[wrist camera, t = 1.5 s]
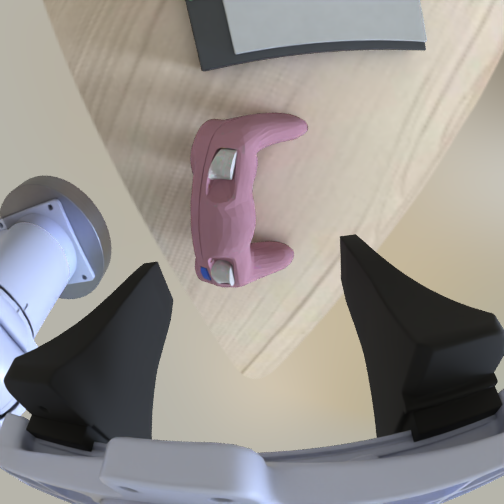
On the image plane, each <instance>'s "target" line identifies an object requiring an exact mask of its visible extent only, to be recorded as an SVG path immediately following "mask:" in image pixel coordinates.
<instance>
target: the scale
mask: <svg viewBox="0 0 504 504" xmlns="http://www.w3.org/2000/svg"><path fill="white" fill-rule="evenodd" d="M185 1H186V5H187V10H188V14H189V18H190V22H191V27H192V31H193V35H194V40H195V44H196V48H197V52H198V57H199V61H200V65H201V70H202V71H209V70H214V69H218V68H223V67H227V66H232V65H237V64H242V63H248V62H253V61H259V60H265V59H271V58H278V57H285V56H293V55H302V54H311V53H322V52H335V51H353V50H426V48H425V42H426V41H427V38H426V32H425V26H424V20H423V14H422V9H421V4H420V0H185Z"/></svg>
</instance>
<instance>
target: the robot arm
mask: <svg viewBox="0 0 504 504" xmlns="http://www.w3.org/2000/svg"><path fill="white" fill-rule="evenodd" d="M50 205H52V207H53V208H51V206H50ZM340 249H341V281H342V285H343V290H344V294H345V299H346V302H347V305H348V308H349V311H350V314H351V317H352V319H353V322H354V325H355V328H356V331H357V334H358V337H359V340H360V343H361V346H362V349H363V353H364V357H365V362H366V367H367V372H368V377H369V383H370V389H371V395H372V402H373V409H374V416H375V424H376V434H377V438H374V439H369V440H364V441H358V442H353V443H347V444H341V445H334V446H327V447H320V448H311V449H302V450H293V451H279V452H264V453H256V452H254V451H253V450H252V449H250V448H246V447H242V446H238V445H234V444H225V443H213V442H182V441H164V440H152V436H151V434H152V433H151V432H152V408H153V398H154V388H155V380H156V374H157V369H158V364H159V361H160V357H161V353H162V350H163V346H164V342H165V339H166V335H167V332H168V328H169V324H170V320H171V314H172V305H173V298H172V296H171V293H170V291H169V289H168V286H167V284H166V281H165V279H164V277H163V274H162V272H161V269H160V267H159V264H158V262H151V263H144V264H143V265H142V266H140V267H139V268H138V269H137V270H136V271H135V272H134V273H133V274H132V275H130V276H129V277H128V278H127V279H126V280H125V281H124V282H123V283H122V284H121V285H120V286H119V287H118V288H117V289H116V290H115V291H114V292H113V293H112V294H111V295H110V296H108V297H107V298H106V299H105V300H104V301H103V302H102V303H101V304H100V305H99V306H98V307H96V308H95V309H94V310H93V311H92V312H91V313H89V314H88V315H87V316H86V317H84V318H83V319H82V320H81V321H79V322H78V323H77V324H75V325H74V326H72V327H71V328H69V329H68V330H66V331H65V332H63V333H62V334H60V335H59V336H57V337H56V338H54V339H52V340H51V341H49V342H47V343H45V344H43V345H42V346H40V347H38V346H37V345H36V343H35V341H34V338H35V336H36V334H37V333H38V331H39V329H40V327H41V326H42V324H43V322H44V320H45V319H46V317H47V315H48V314H49V312H50V310H51V309H52V307H53V306H54V304H55V302H56V301H57V299H58V297H59V296H60V294H61V293H62V291H63V290H64V288H65V286H66V285H67V284H73V283H80V282H87V281H92V280H93V279H94V277H95V274H94V272H93V270H92V268H91V266H90V264H89V262H88V260H87V258H86V256H85V254H84V252H83V250H82V248H81V246H80V244H79V242H78V240H77V238H76V236H75V233H74V231H73V229H72V227H71V225H70V222H69V220H68V218H67V216H66V213H65V211H64V209H63V206H62V204H61V202H60V201H59V200H58V199H52V200H49V201H46V202H44V203H41V204H38V205H35V206H33V207H30V208H27V209H25V210H22V211H19V212H17V213H14V214H12V215H9V216H7V217H4V218H2V219H0V468H1V469H3V470H4V471H6V472H7V473H9V474H10V475H12V476H13V477H15V478H17V479H18V480H20V481H22V482H23V483H25V484H27V485H29V486H31V487H33V488H35V489H37V490H40V491H42V492H45V493H47V494H50V495H52V496H54V497H57V498H59V499H62V500H64V501H67V502H70V503H72V504H441V503H444V502H446V501H449V500H451V499H454V498H456V497H458V496H461V495H463V494H466V493H468V492H470V491H472V490H475V489H477V488H479V487H481V486H483V485H485V484H487V483H490V482H492V481H494V480H496V479H498V478H500V477H502V476H504V389H503V390H501V391H500V392H499V393H497V390H496V388H495V385H496V384H497V378H496V376H495V374H494V371H495V370H496V368H497V366H498V364H499V363H500V361H501V359H502V357H503V356H504V329H503V327H502V326H501V324H500V323H499V321H498V320H497V318H496V316H495V315H494V314H492V313H489V312H485V311H482V310H479V309H475V308H472V307H469V306H466V305H464V304H461V303H458V302H455V301H453V300H451V299H448V298H446V297H444V296H442V295H440V294H438V293H436V292H434V291H432V290H430V289H428V288H426V287H424V286H423V285H421V284H419V283H418V282H416V281H414V280H413V279H411V278H410V277H408V276H406V275H405V274H404V273H402V272H401V271H399V270H398V269H397V268H395V267H394V266H393V265H391V264H390V263H389V262H387V261H386V260H385V259H384V258H382V257H381V256H380V255H379V254H378V253H376V252H375V251H374V250H373V249H372V248H371V247H369V246H368V245H367V244H366V243H365V242H364V241H363V240H362V239H360V238H359V237H358V236H357V235H356V234H355V235H348V236H340ZM84 275H85V276H86V277H85V276H84ZM25 410H27V411H29V412H30V413H31V414H32V416H31V418H30V421H29V420H28V419H26V418H24V417H22V416H20V415H22V414H23V413H24V412H25Z"/></svg>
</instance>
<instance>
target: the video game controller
mask: <svg viewBox="0 0 504 504" xmlns="http://www.w3.org/2000/svg"><path fill="white" fill-rule="evenodd" d="M307 130H308V125H307V123H306V122H305V121H304V120H302V119H301V118H299V117H297V116H294V115H290V114H285V113H259V114H252V115H246V116H241V117H236V118H231V119H226V120H220V119H211V120H208V121H206V122H205V123H204V124H203V125H202V126H201V127H200V129H199V130H198V132H197V134H196V137H195V139H194V142H193V145H192V149H191V158H190V160H191V168H192V173H193V175H194V176H193V184H192V194H191V231H192V240H193V246H194V252H195V256H196V259H195V270H196V274H197V276H198V278H199V279H200V280H202V281H205V282H208V283H211V284H214V285H216V286H220V287H241V286H244V285H246V284H248V283H251V282H253V281H255V280H257V279H259V278H262V277H264V276H267V275H270V274H272V273H275V272H277V271H279V270H281V269H284V268H285V267H287V266H288V265H289V264H290V263H291V262H292V260H293V257H294V252H293V250H292V249H291V248H290V247H289V246H287V245H286V244H283V243H280V242H272V241H265V242H256V243H251V240H252V238H253V234H254V230H255V226H256V215H255V205H254V200H253V194H252V192H253V182H254V179H255V176H256V172H257V156H256V155H257V153H258V151H260V150H261V149H263V148H264V147H267V146H269V145H272V144H275V143H279V142H283V141H288V140H292V139H296V138H298V137H300V136H302V135H303V134H304V133H306V132H307Z"/></svg>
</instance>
